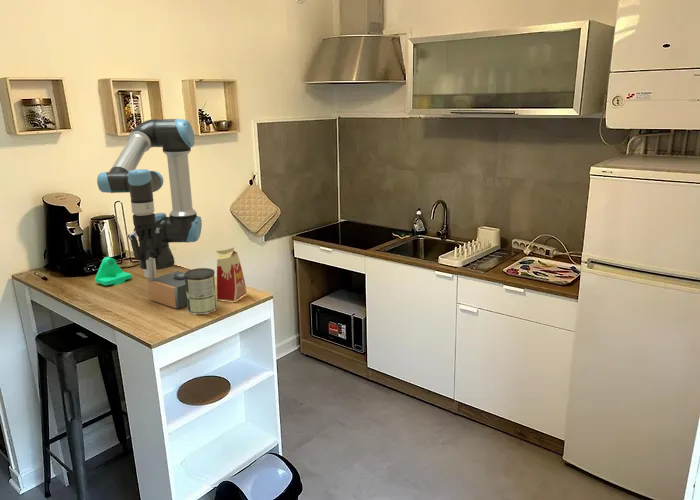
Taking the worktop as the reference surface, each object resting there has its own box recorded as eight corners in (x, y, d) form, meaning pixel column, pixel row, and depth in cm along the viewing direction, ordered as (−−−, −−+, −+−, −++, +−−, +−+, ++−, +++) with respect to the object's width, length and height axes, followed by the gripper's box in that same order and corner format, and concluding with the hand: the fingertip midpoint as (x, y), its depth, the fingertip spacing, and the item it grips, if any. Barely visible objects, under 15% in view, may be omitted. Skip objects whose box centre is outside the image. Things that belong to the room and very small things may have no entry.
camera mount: (106, 288, 215) (103, 263, 213) (95, 284, 220) (92, 260, 217) (133, 280, 225) (130, 256, 222) (122, 276, 229) (119, 253, 226)
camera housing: (179, 290, 212) (177, 268, 209) (206, 298, 203) (204, 275, 200) (152, 299, 203) (150, 276, 200) (179, 308, 194) (177, 284, 191)
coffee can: (181, 310, 191) (178, 273, 188) (205, 302, 199) (202, 266, 195) (199, 317, 185) (195, 278, 181) (223, 308, 193) (220, 271, 189)
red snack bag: (247, 294, 207) (244, 244, 201) (236, 303, 198) (232, 251, 193) (225, 292, 209) (222, 243, 204) (213, 300, 201) (209, 249, 195)
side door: (152, 298, 202) (147, 258, 198) (180, 307, 193) (176, 266, 189) (147, 299, 201) (143, 259, 196) (175, 309, 191) (171, 267, 187)
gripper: (130, 218, 183) (138, 283, 190) (168, 211, 195) (174, 272, 202) (118, 215, 188) (126, 279, 194) (155, 208, 199) (161, 269, 206)
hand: (150, 275), depth 198 cm, fingers closed on side door, 2 cm apart
